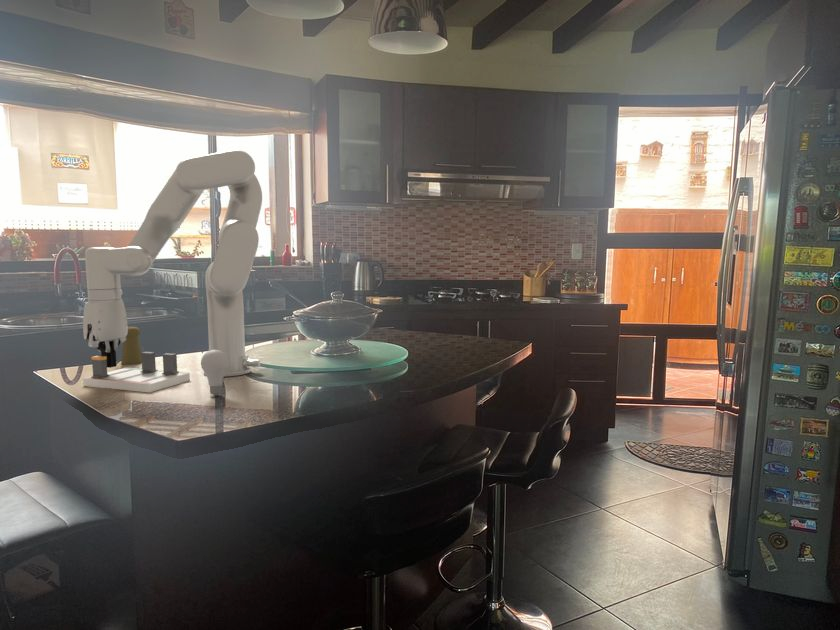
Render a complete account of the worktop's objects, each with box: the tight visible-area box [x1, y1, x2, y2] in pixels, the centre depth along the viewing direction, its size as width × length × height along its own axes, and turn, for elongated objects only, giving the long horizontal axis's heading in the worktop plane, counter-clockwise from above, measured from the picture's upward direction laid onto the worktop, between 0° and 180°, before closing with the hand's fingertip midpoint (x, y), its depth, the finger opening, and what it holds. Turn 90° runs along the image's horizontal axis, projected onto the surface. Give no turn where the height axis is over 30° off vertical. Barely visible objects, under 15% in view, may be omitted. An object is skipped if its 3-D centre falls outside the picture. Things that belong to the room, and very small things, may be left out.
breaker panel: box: [82, 367, 191, 393], centre depth 152 cm, size 14×21×2 cm, turn 71°
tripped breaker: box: [91, 355, 109, 378], centre depth 149 cm, size 3×3×5 cm
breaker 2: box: [162, 352, 180, 375], centre depth 153 cm, size 3×3×5 cm
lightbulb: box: [200, 350, 228, 397], centre depth 138 cm, size 6×6×11 cm
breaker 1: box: [140, 351, 158, 373], centre depth 155 cm, size 3×3×5 cm
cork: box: [120, 326, 142, 366], centre depth 178 cm, size 6×6×11 cm
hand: (109, 366), depth 152 cm, fingers closed
